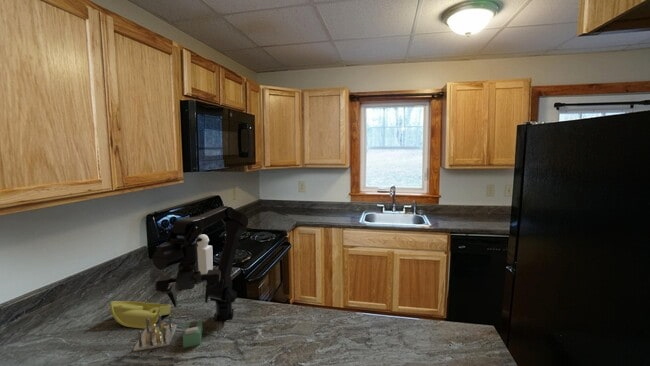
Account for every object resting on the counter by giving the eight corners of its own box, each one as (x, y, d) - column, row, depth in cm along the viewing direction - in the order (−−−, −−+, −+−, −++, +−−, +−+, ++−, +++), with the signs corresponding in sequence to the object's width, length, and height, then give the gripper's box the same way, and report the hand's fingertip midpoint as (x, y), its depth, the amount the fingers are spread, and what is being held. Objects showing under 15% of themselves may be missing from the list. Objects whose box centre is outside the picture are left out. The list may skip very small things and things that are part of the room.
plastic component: (174, 305, 114) (159, 306, 105) (168, 326, 112) (153, 329, 102) (126, 300, 116) (107, 301, 106) (120, 321, 113) (100, 323, 104)
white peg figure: (207, 280, 142) (204, 236, 140) (195, 279, 143) (192, 236, 141) (214, 275, 148) (212, 232, 146) (202, 274, 149) (200, 232, 147)
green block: (187, 333, 100) (186, 319, 99) (202, 330, 101) (201, 317, 101) (183, 348, 92) (182, 333, 92) (200, 344, 94) (199, 330, 93)
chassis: (145, 331, 101) (143, 316, 101) (176, 326, 104) (175, 312, 103) (133, 351, 91) (131, 335, 90) (168, 345, 93) (167, 329, 93)
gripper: (147, 271, 84) (151, 322, 85) (216, 263, 89) (219, 312, 90) (158, 258, 94) (162, 304, 96) (219, 252, 99) (222, 295, 101)
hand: (191, 304), depth 95 cm, fingers open, 9 cm apart
